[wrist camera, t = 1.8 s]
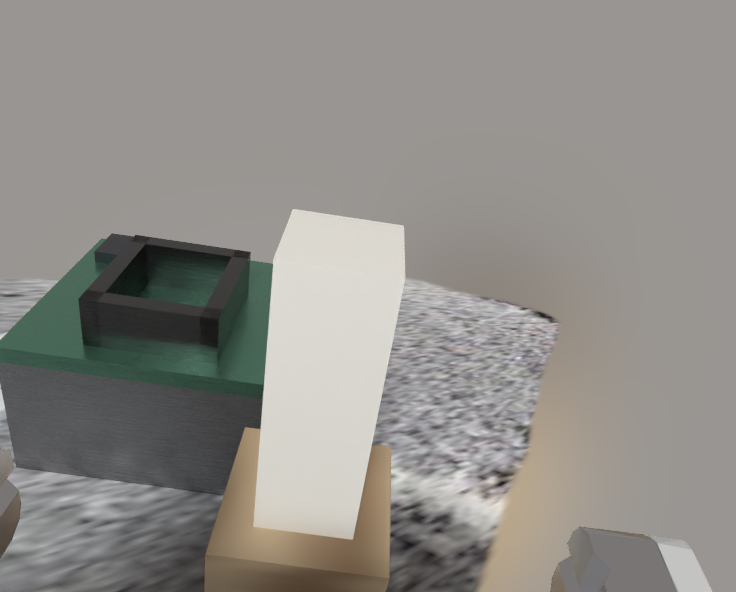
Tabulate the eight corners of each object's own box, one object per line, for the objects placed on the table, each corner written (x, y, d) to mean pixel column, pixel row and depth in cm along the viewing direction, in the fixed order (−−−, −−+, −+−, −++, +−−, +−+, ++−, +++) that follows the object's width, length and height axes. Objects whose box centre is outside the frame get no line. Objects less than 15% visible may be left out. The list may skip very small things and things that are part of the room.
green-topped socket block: (16, 467, 37) (-17, 299, 31) (109, 339, 50) (98, 200, 44) (277, 502, 38) (293, 343, 32) (306, 367, 50) (322, 234, 44)
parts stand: (202, 696, 28) (205, 554, 23) (237, 562, 34) (245, 427, 29) (354, 714, 28) (389, 578, 23) (361, 578, 34) (391, 447, 29)
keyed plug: (253, 526, 24) (273, 258, 18) (274, 441, 29) (296, 200, 23) (352, 539, 25) (405, 278, 19) (359, 453, 29) (403, 217, 23)
